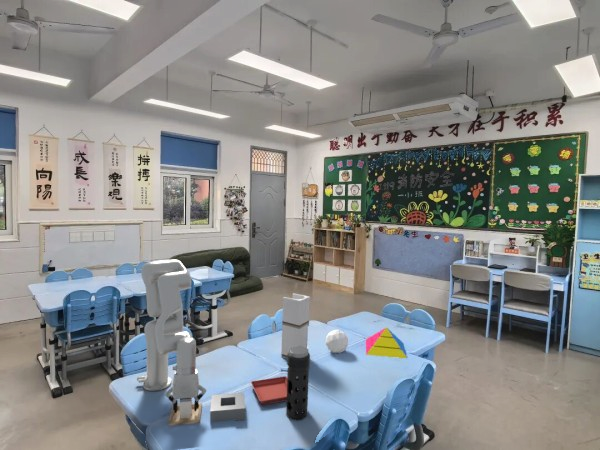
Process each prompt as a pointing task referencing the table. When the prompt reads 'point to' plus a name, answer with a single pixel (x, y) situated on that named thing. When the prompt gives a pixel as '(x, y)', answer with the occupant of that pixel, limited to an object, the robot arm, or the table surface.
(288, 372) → the muzzle brake
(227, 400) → the block
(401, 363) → the table surface
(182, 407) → the plug
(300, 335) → the white banded pillar
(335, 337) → the geodesic sphere
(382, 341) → the pyramid toy
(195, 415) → the tray
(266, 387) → the plant saucer
